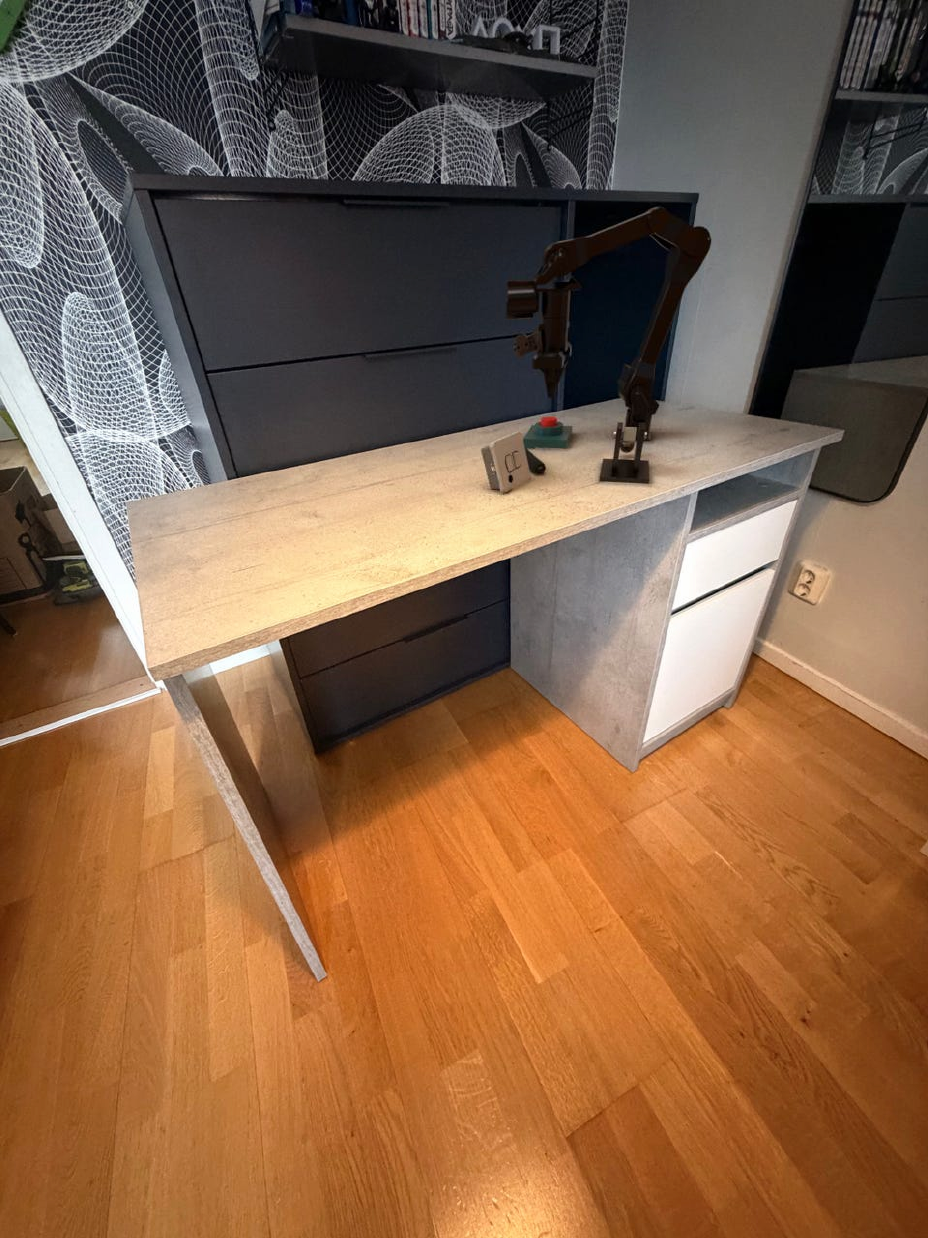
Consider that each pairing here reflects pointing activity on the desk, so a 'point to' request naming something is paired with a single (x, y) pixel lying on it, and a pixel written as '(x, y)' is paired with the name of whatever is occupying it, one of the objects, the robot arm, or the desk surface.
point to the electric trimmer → (534, 462)
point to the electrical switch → (506, 462)
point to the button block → (547, 436)
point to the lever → (628, 439)
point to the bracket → (626, 462)
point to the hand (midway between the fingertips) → (550, 397)
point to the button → (548, 421)
